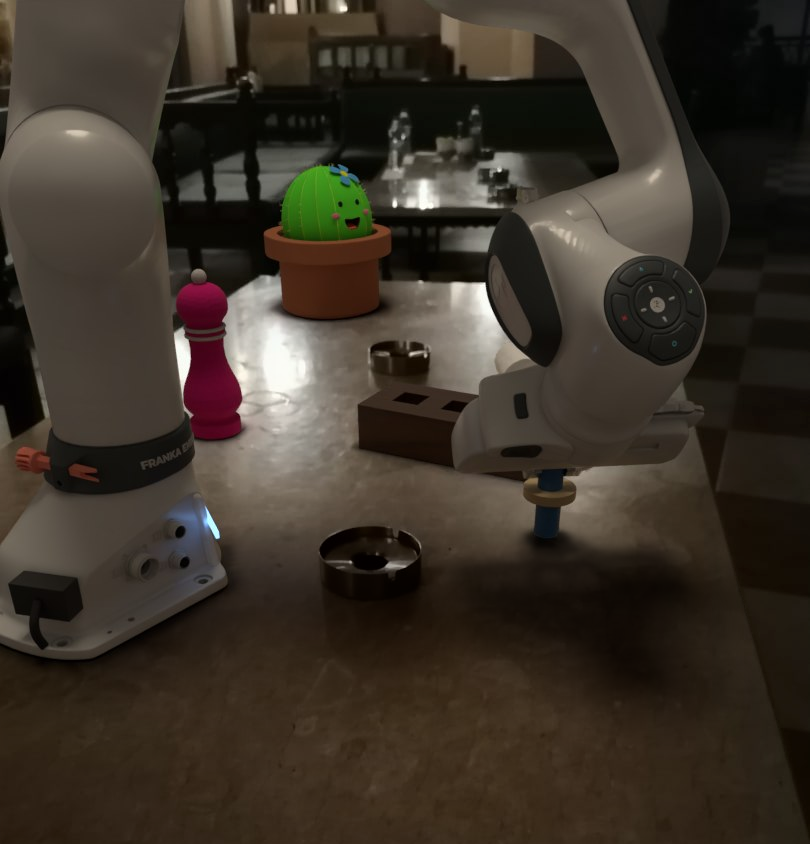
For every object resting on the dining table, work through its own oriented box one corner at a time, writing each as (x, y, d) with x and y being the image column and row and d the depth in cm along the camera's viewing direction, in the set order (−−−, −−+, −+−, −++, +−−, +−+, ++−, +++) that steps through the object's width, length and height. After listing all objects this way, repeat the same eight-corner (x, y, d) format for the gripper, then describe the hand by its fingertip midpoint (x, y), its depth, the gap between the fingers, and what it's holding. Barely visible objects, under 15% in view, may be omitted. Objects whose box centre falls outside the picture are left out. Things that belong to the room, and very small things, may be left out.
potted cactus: (248, 306, 168) (235, 161, 156) (343, 287, 181) (337, 152, 169) (316, 331, 154) (307, 173, 142) (414, 308, 166) (414, 161, 154)
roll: (529, 368, 135) (531, 331, 132) (544, 395, 125) (547, 356, 122) (489, 369, 135) (490, 332, 132) (501, 397, 124) (503, 357, 122)
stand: (532, 482, 100) (535, 436, 98) (358, 447, 109) (357, 404, 107) (560, 452, 107) (563, 408, 105) (395, 422, 117) (395, 380, 114)
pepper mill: (233, 443, 111) (215, 277, 101) (178, 439, 112) (155, 274, 102) (253, 422, 117) (238, 263, 107) (201, 418, 118) (181, 261, 109)
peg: (562, 549, 86) (572, 441, 80) (512, 537, 88) (519, 431, 82) (578, 527, 90) (589, 423, 84) (531, 516, 92) (538, 414, 86)
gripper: (706, 368, 75) (649, 434, 88) (461, 378, 73) (441, 444, 86) (719, 439, 73) (659, 495, 86) (469, 451, 71) (447, 507, 84)
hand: (549, 470), depth 86 cm, fingers closed on peg, 2 cm apart
